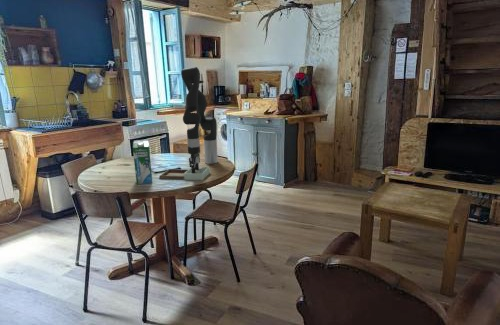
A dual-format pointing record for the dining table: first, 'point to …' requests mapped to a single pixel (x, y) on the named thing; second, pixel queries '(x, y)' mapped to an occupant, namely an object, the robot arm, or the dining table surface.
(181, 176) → the tray
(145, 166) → the milk carton
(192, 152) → the robot arm
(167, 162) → the dining table surface
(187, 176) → the bin
